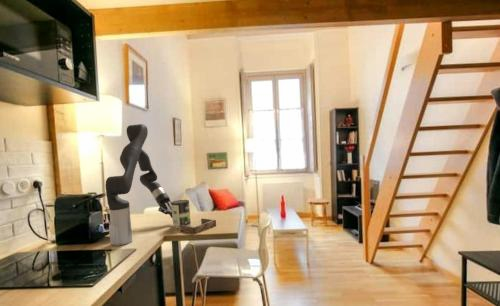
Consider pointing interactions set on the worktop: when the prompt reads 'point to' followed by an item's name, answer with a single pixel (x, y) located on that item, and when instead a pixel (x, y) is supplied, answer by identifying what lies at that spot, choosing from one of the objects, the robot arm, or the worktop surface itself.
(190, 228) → the walnut bay
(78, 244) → the worktop surface
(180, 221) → the coffee can
